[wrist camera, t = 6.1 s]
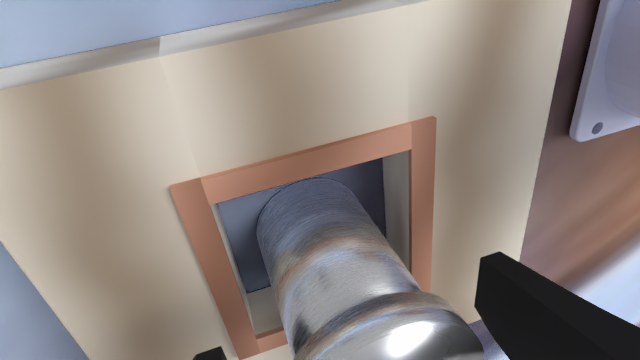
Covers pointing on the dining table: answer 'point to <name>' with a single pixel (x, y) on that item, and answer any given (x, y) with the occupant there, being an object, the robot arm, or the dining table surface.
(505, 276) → the robot arm
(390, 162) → the hole plate
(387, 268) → the knob
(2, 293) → the dining table surface
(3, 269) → the dining table surface
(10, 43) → the dining table surface
